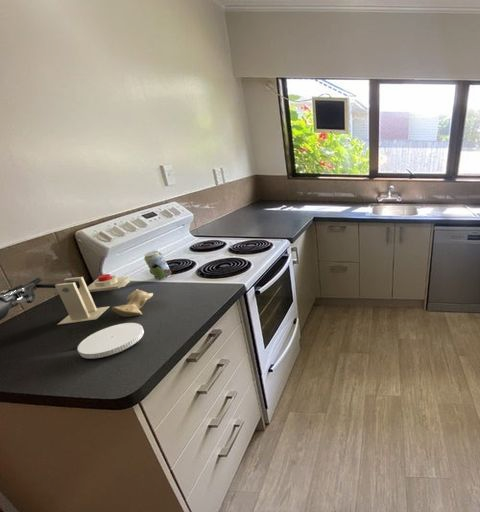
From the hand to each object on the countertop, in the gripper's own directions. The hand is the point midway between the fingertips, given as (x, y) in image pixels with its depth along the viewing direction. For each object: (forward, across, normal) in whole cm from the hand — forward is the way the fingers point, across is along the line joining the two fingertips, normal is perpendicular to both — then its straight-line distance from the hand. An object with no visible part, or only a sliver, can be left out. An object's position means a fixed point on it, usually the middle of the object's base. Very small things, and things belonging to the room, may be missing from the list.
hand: (27, 286), depth 87 cm
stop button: (+24, -6, +10) cm, 26 cm away
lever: (+1, -5, +2) cm, 5 cm away
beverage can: (+28, -22, +14) cm, 38 cm away
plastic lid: (-18, -26, +14) cm, 34 cm away
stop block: (+24, -6, +14) cm, 28 cm away
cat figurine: (0, -25, +14) cm, 28 cm away
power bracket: (+1, -10, +14) cm, 17 cm away
